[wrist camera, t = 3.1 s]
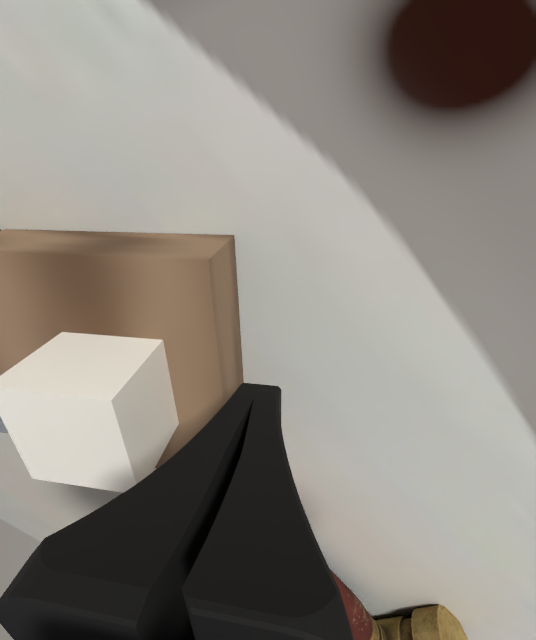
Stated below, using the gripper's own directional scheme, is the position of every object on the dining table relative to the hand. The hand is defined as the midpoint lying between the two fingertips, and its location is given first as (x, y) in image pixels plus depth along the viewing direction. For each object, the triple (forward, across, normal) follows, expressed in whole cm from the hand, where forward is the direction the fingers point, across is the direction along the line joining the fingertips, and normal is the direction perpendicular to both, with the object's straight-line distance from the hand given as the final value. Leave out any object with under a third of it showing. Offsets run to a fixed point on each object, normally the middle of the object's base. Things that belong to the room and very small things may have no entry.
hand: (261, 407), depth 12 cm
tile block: (+1, +6, 0) cm, 6 cm away
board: (+4, +7, 0) cm, 8 cm away
